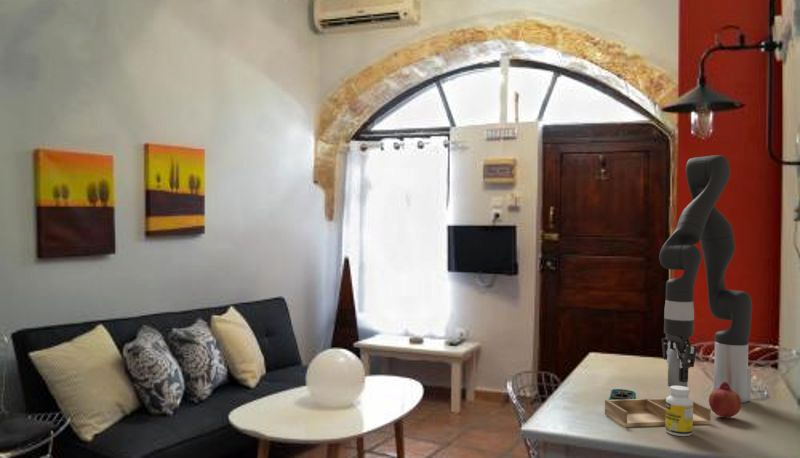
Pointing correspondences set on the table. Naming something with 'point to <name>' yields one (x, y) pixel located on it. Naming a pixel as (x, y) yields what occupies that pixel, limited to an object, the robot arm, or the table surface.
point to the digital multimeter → (621, 394)
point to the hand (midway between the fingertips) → (677, 379)
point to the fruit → (725, 401)
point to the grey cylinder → (674, 369)
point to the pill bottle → (679, 412)
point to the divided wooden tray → (648, 412)
